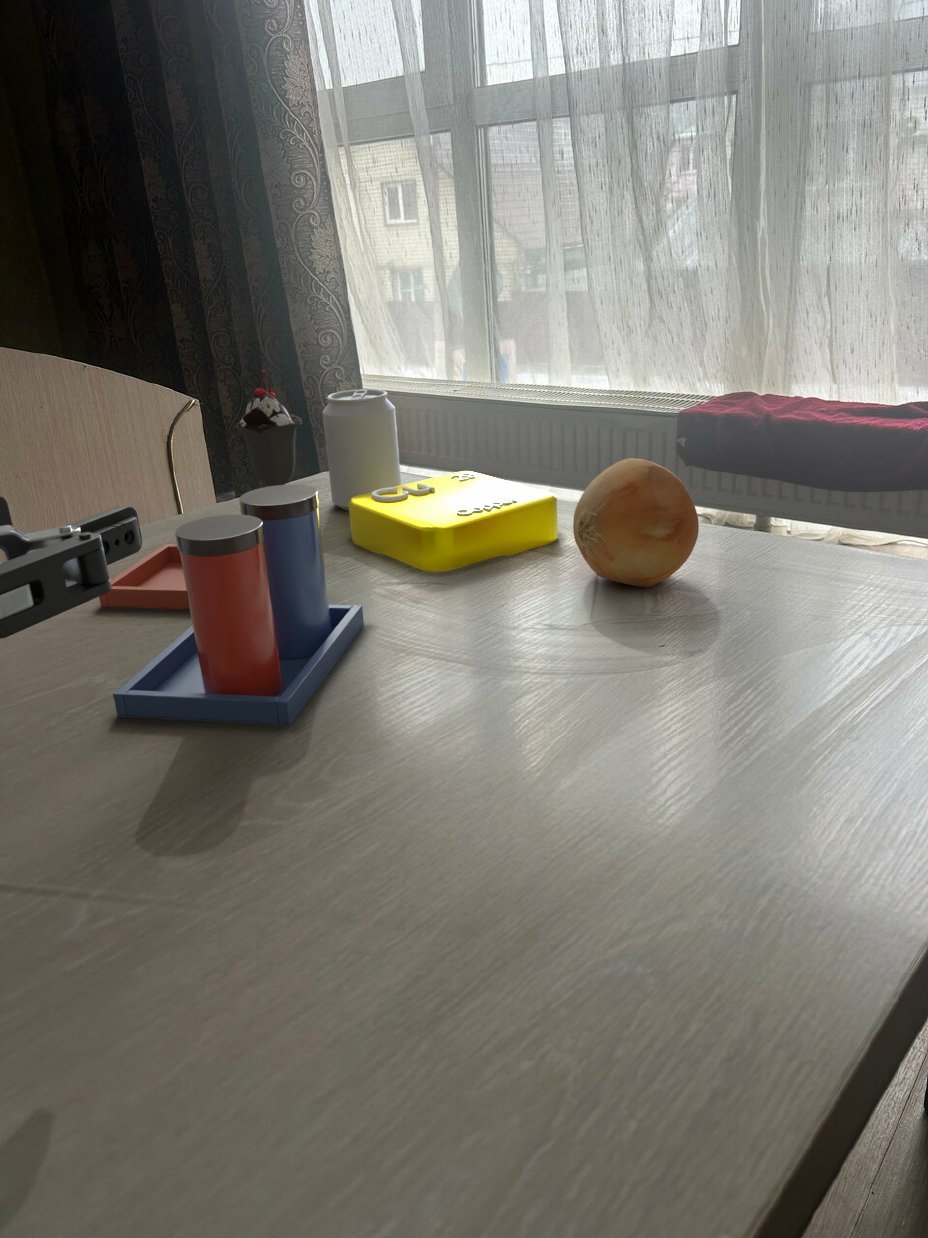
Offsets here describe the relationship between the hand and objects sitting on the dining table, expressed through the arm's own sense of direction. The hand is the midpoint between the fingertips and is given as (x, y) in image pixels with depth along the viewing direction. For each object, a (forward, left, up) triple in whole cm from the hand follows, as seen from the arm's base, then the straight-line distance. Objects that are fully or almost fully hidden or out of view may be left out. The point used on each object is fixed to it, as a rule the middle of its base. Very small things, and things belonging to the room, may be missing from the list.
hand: (67, 520), depth 48 cm
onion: (+26, +33, -15) cm, 45 cm away
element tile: (+9, +43, -15) cm, 47 cm away
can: (-3, +55, -15) cm, 58 cm away
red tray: (-10, +30, -15) cm, 35 cm away
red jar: (+2, +11, -15) cm, 19 cm away
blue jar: (+3, +18, -15) cm, 24 cm away
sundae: (-11, +50, -15) cm, 54 cm away
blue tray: (+1, +14, -15) cm, 21 cm away
